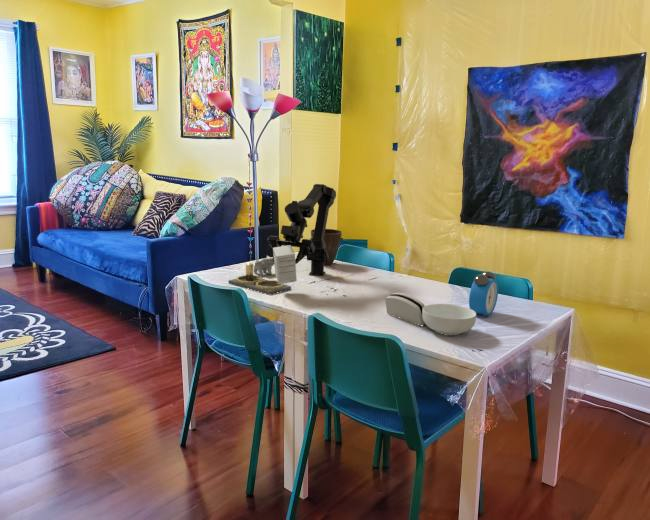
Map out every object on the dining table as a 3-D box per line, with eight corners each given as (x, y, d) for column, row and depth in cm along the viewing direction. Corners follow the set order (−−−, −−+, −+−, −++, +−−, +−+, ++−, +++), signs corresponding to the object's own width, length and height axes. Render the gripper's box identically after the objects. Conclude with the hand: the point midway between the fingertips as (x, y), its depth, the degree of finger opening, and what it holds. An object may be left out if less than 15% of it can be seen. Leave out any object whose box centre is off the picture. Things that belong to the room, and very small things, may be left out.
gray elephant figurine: (249, 274, 245) (249, 257, 243) (269, 268, 254) (268, 252, 252) (264, 278, 239) (264, 261, 237) (283, 272, 248) (283, 255, 246)
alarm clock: (483, 320, 190) (487, 278, 187) (466, 316, 194) (470, 274, 191) (496, 311, 201) (500, 271, 197) (480, 308, 204) (483, 268, 201)
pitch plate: (228, 283, 228) (228, 263, 226) (250, 278, 237) (250, 259, 235) (269, 294, 213) (269, 274, 211) (291, 289, 222) (291, 269, 220)
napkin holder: (432, 323, 185) (427, 298, 181) (423, 331, 182) (418, 305, 178) (396, 311, 198) (391, 286, 194) (387, 317, 195) (381, 293, 191)
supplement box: (274, 275, 219) (272, 247, 213) (293, 272, 221) (291, 244, 214) (278, 284, 213) (275, 256, 207) (297, 281, 215) (295, 253, 208)
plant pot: (329, 259, 279) (330, 227, 276) (346, 265, 267) (347, 232, 264) (304, 262, 271) (305, 229, 268) (320, 268, 259) (321, 234, 256)
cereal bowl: (485, 334, 176) (487, 313, 174) (449, 344, 167) (451, 322, 165) (445, 320, 189) (447, 300, 188) (410, 328, 180) (411, 307, 178)
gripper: (269, 215, 218) (255, 247, 211) (312, 219, 212) (300, 252, 204) (277, 232, 227) (265, 263, 220) (320, 236, 221) (308, 269, 213)
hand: (284, 262), depth 214 cm, fingers closed on supplement box, 9 cm apart
